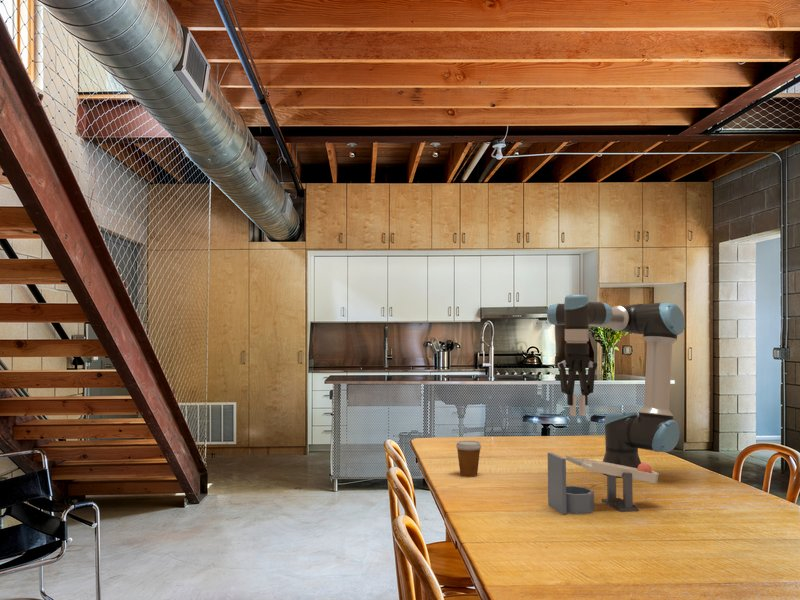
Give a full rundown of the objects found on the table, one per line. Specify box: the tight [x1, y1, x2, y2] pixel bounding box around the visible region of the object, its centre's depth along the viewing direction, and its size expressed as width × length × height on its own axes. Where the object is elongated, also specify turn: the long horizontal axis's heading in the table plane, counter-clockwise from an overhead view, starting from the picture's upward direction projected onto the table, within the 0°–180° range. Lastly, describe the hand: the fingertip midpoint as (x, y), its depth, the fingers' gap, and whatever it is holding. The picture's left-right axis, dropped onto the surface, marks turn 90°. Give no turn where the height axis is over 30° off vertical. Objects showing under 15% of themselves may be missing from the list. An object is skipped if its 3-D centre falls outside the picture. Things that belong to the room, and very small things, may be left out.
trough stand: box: [601, 473, 640, 513], centre depth 191 cm, size 6×11×11 cm, turn 11°
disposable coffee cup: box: [455, 440, 482, 478], centre depth 232 cm, size 10×10×12 cm
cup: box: [547, 452, 595, 515], centre depth 188 cm, size 12×11×16 cm
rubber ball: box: [638, 462, 652, 473], centre depth 192 cm, size 4×4×4 cm
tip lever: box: [565, 455, 660, 485], centre depth 196 cm, size 22×18×4 cm
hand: (577, 415), depth 200 cm, fingers open, 3 cm apart
